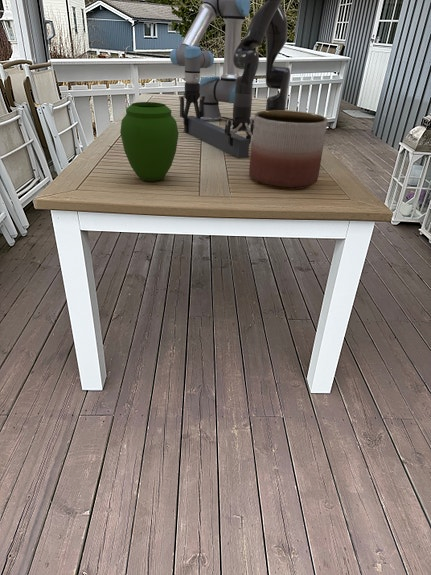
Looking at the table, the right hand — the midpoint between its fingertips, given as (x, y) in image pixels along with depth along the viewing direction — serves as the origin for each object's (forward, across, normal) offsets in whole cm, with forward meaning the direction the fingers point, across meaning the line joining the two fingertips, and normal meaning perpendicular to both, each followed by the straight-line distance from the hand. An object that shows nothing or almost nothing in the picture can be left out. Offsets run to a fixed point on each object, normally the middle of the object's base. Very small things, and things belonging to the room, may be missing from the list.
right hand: (239, 145), depth 177 cm
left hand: (+3, 0, +48) cm, 48 cm away
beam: (+4, 0, +24) cm, 25 cm away
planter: (+5, -3, -36) cm, 36 cm away
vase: (+5, -47, -17) cm, 51 cm away
